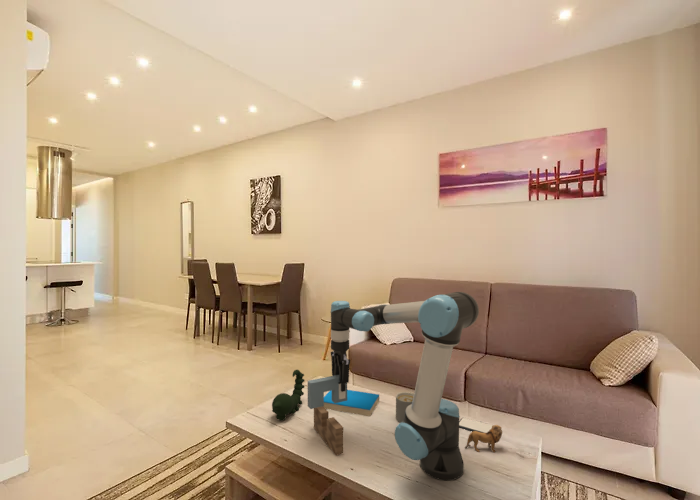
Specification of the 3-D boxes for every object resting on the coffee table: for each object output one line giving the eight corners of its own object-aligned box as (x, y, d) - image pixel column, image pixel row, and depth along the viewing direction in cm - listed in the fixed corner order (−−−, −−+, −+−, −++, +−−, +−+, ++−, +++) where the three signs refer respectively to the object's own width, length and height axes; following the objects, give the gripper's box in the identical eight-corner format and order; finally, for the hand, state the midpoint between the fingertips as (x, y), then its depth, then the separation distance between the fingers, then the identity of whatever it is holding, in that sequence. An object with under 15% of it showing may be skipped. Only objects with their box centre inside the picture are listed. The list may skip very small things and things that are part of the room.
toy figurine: (291, 404, 177) (263, 424, 153) (293, 365, 178) (265, 379, 154) (308, 407, 174) (282, 428, 150) (310, 368, 175) (284, 382, 151)
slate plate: (343, 397, 147) (343, 373, 147) (347, 400, 145) (347, 376, 144) (307, 405, 140) (307, 380, 140) (310, 409, 137) (310, 383, 137)
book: (370, 409, 161) (319, 400, 169) (370, 418, 162) (319, 409, 170) (379, 393, 178) (333, 386, 186) (379, 402, 178) (332, 394, 186)
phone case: (456, 428, 153) (495, 440, 144) (456, 424, 153) (495, 436, 144) (462, 420, 160) (500, 430, 151) (462, 416, 160) (500, 426, 151)
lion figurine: (498, 444, 140) (498, 421, 140) (505, 452, 135) (505, 428, 135) (462, 446, 139) (462, 423, 139) (467, 454, 134) (468, 430, 133)
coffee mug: (415, 426, 153) (415, 403, 153) (393, 421, 157) (393, 399, 157) (421, 412, 166) (422, 391, 165) (401, 408, 170) (401, 387, 169)
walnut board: (343, 453, 134) (343, 427, 133) (336, 455, 132) (336, 429, 132) (320, 426, 153) (320, 403, 153) (313, 427, 152) (313, 404, 151)
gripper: (357, 343, 139) (357, 402, 139) (339, 333, 153) (339, 387, 154) (340, 345, 135) (340, 406, 136) (323, 335, 150) (323, 391, 150)
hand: (340, 396), depth 145 cm, fingers closed on slate plate, 3 cm apart
